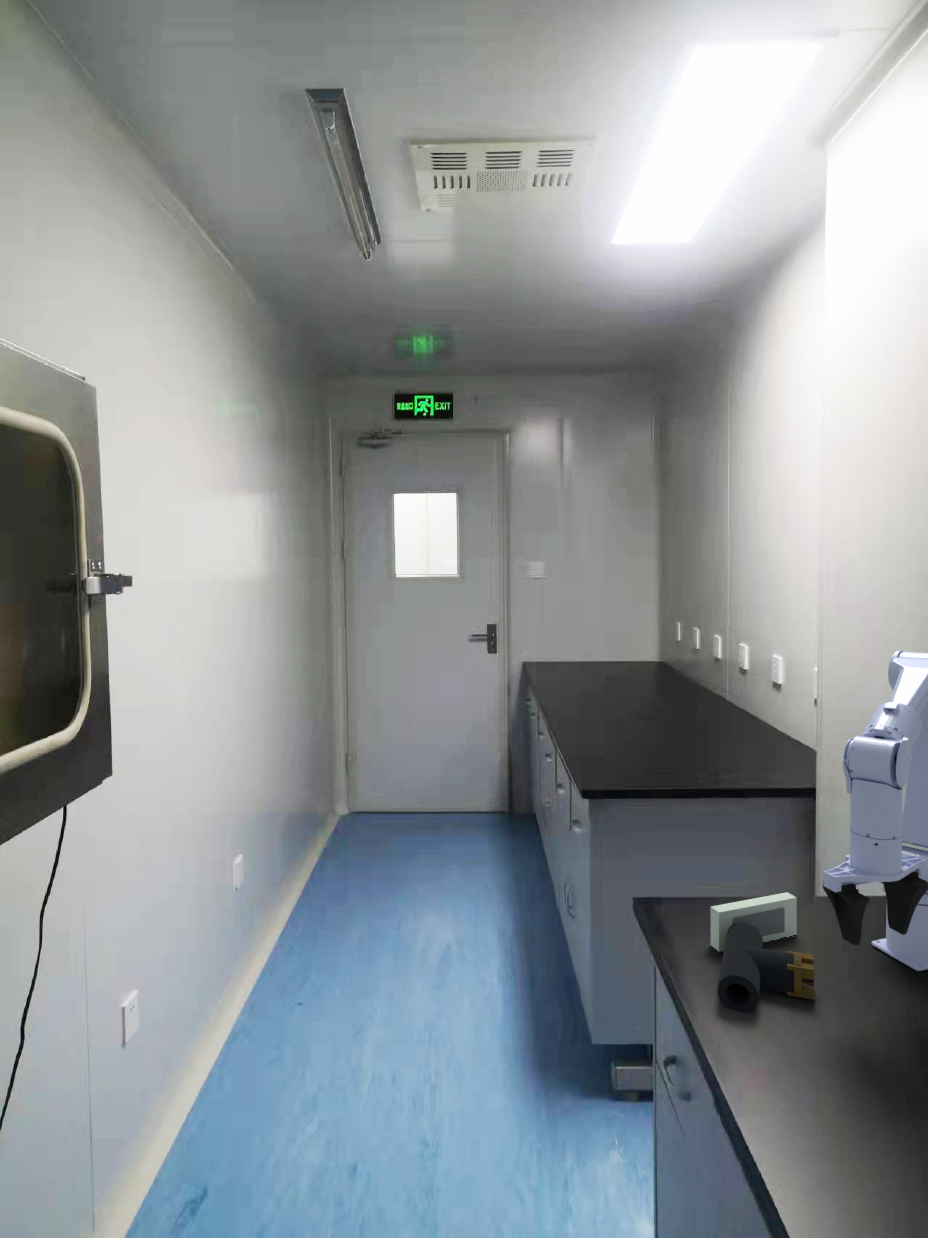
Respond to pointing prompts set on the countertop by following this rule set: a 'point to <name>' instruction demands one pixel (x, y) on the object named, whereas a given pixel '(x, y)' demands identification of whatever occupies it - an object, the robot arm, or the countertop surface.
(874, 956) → the countertop surface
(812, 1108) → the countertop surface
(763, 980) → the pipe connector
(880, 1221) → the countertop surface
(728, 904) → the block
